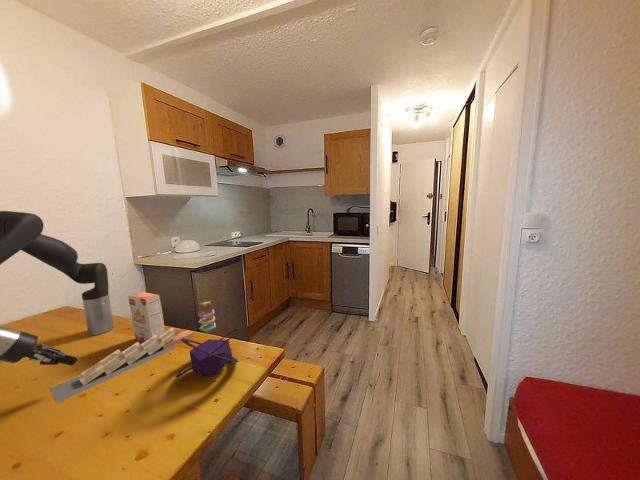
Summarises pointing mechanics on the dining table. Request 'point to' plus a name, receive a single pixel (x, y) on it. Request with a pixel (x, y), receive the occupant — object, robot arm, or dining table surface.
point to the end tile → (178, 339)
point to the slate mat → (100, 377)
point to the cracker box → (146, 315)
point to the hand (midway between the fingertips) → (74, 361)
